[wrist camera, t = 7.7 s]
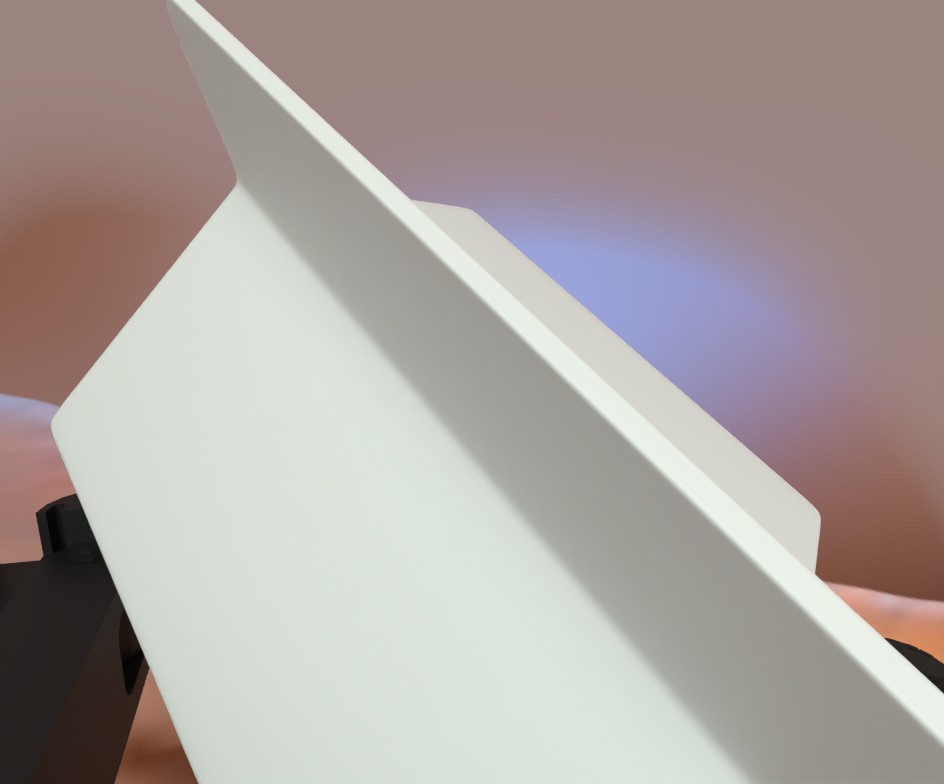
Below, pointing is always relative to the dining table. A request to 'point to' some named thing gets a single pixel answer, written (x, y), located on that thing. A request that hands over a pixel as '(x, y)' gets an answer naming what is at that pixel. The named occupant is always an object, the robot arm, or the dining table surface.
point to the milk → (447, 509)
